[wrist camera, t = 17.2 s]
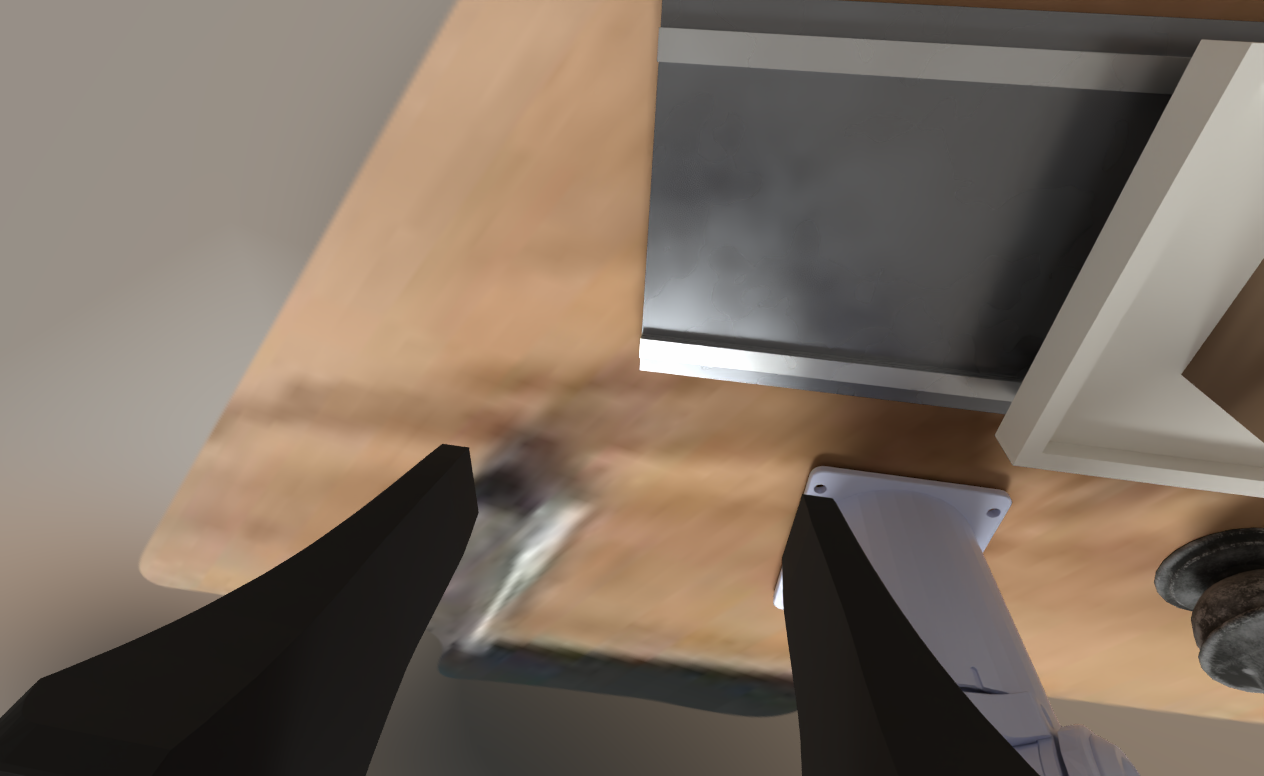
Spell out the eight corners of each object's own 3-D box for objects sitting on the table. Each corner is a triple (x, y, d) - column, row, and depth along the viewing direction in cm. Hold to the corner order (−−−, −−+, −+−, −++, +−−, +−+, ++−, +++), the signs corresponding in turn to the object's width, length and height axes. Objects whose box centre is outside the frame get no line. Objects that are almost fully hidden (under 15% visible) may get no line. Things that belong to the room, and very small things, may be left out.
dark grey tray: (1327, 440, 20) (1391, 487, 18) (642, 359, 22) (633, 392, 21) (1705, 45, 13) (1873, 51, 11) (666, -9, 16) (655, -11, 14)
